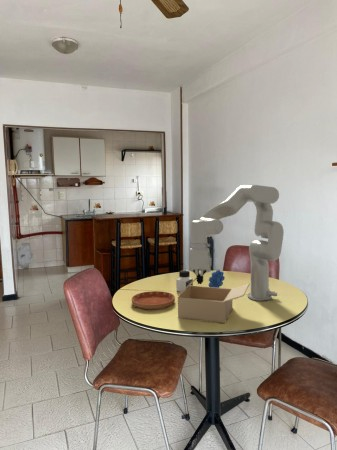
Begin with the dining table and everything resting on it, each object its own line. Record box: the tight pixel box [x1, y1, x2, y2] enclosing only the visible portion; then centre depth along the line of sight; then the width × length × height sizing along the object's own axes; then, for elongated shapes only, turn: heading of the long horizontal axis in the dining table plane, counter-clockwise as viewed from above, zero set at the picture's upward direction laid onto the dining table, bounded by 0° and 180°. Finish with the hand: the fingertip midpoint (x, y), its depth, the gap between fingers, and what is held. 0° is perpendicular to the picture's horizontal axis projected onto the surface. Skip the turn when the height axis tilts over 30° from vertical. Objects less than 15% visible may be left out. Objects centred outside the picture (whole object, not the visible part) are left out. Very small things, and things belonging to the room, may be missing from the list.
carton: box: [177, 285, 233, 324], centre depth 168 cm, size 22×20×10 cm
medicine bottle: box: [175, 269, 194, 293], centre depth 204 cm, size 7×7×12 cm
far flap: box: [177, 276, 197, 297], centre depth 170 cm, size 9×19×1 cm
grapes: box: [208, 269, 225, 288], centre depth 205 cm, size 12×7×12 cm, turn 122°
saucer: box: [131, 290, 176, 310], centre depth 184 cm, size 23×23×4 cm
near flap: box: [225, 282, 250, 302], centre depth 162 cm, size 9×19×1 cm, turn 159°
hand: (200, 283), depth 168 cm, fingers closed
